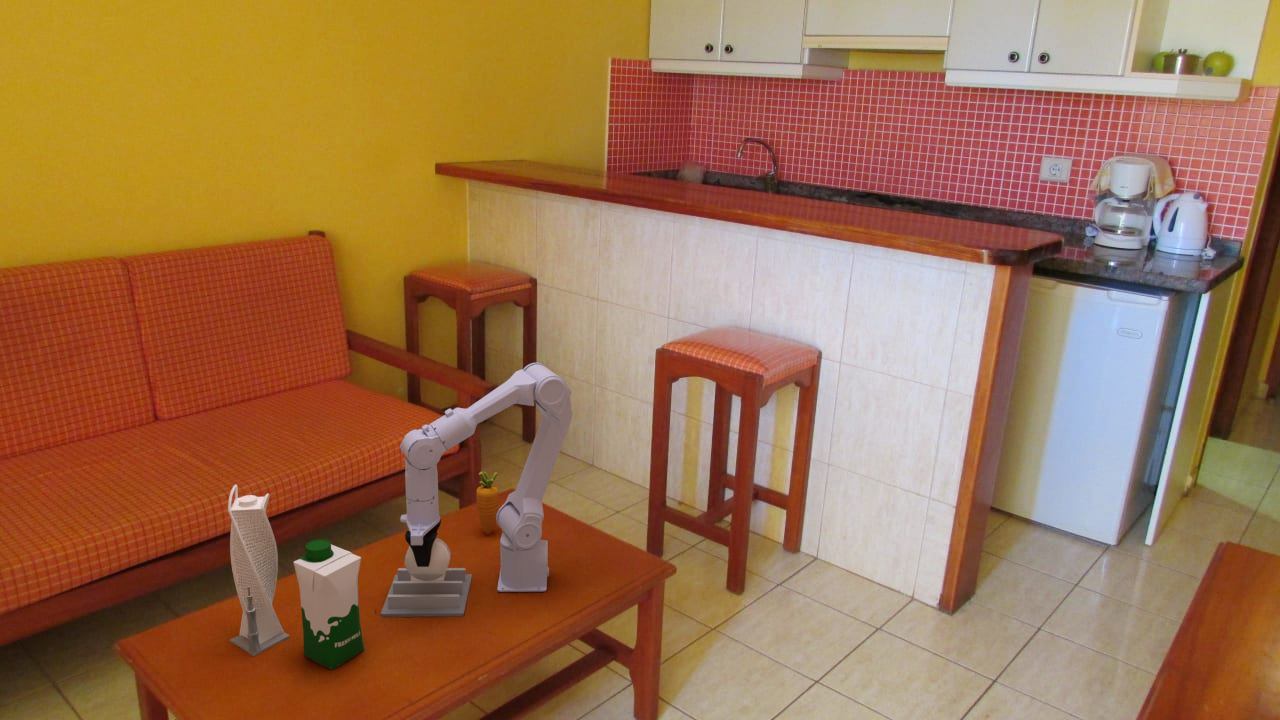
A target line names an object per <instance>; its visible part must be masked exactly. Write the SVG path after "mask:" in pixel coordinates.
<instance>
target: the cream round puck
mask: <svg viewBox="0 0 1280 720" xmlns="http://www.w3.org/2000/svg"><path fill="white" fill-rule="evenodd" d="M404 556H405V557H404V566H405V568H406V569H407V571H408V572H409V573H410V574H411V581H444V578H445V572H446V571H447V568H449V565H450V561H451V551H450V548H449V546H448V545H447V543H446V542H445V541H443V540H442V539H441V538H440V537H438V536H437V537H436V539H435V541H434V543H433V546H432V552H431V559H430V564H429V567H418V566H417V564H416V561H415V558H414V554H413V551H412V549H411V547H410V545H409V546H408V549H407V551H406V554H405V555H404Z"/></svg>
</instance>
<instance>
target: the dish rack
mask: <svg viewBox="0 0 1280 720" xmlns="http://www.w3.org/2000/svg"><path fill="white" fill-rule="evenodd" d="M472 579H473V575H472V573H471V574H470V573H468V574H467V573H466V568H465V567H448V568H447V571H446V572H445V578H444V581H411V574H410V573H409V572H408V571H407V569H406V567H403V568H402V567H401V568H399V567H398V568H397V574H395V575H394V578H393V580H392V583H391V585H390V588H389V591H388V594H387V596H386V598H385V601H384V604H383V606H382V609H381V612H380V617H381V618H386V617H387V618H388V617H389V618H390V617H391V618H392V617H396V618H397V617H398V618H399V617H401V618H402V617H404V618H406V617H409V618H410V617H411V618H412V617H415V618H416V617H464V615H465V610H466V605H467V601H468V596H469V592H470V587H471V585H472V584H471V582H472Z"/></svg>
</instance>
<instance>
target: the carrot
mask: <svg viewBox="0 0 1280 720" xmlns="http://www.w3.org/2000/svg"><path fill="white" fill-rule="evenodd" d="M498 475H499V473H498V472H494V473H493V474H492V477H491V478H490V476H489V474H488V473H487V471H486V472H485V471H480V472H479V473H478V476H479V478H480V481H479V484H480V486H478V487H477V489H476V494H475V495H476V509H477V513H478V518H479V522H480V524H481V527H482V529H483V531H484V533H485V534H486V535H490V534H491V533H492V531H493V529H494V528H495V526H496V524H497V520H496V516H497V512H498V510H499V504H500V503H499V501H500V498H499V497H500V492H499V489H498V487H497V486H496V485H494V482H495V480H496V478H497V477H498Z"/></svg>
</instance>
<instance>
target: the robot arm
mask: <svg viewBox="0 0 1280 720" xmlns="http://www.w3.org/2000/svg"><path fill="white" fill-rule="evenodd" d="M571 394H572V390H571V388H570V386H569V385H568V384H567V382H566V381H565V380H564V378H563V377H561V376H559V375H557V374H556V373H555V372H553V371H552V370H551V369H549V368H548V367H547V366H546V365H545V364H544V363H541V362H532V363H529V364H527V365H526V366H524V368H523V369H522V368H521V369H519V370H517V371H516V370H515V372H514V373H513V374H512V375H511V376H510V377H509V378H508V379H507V380H506V381H504V382H503V383H502V384H500V385H499V386H498V387H496V388H495V389H493V390H491V391H490V392H489V393H487V394H486V395H485V396H483V397H482V398H480V399H479V400H478V401H475V402H474V403H473V404H472V405H471V406H468V407H467V408H461V407H455V408H453V409H452V408H448V409H447V410H445V411H444V415H442V416H440V417H439V418H437V419H436V420H434V421H433V422H430V423H429V424H424V425H422V426H421V429H420V428H418V429H412V430H411V431H409V432H408V433H406V434H405V435H404V437H403V438H402V441H401V444H399V449H400V451H401V453H402V455H404V456H405V457H406V458H404V463H405V466H404V468H405V472H404V479H405V481H404V482H405V484H404V485H405V498H406V500H405V503H406V514H401V515H400V518H399V521H400V522H401V523H402V524H403V523H404V524H406V526H407V528H408V530H406V532H405V535H404V539H405V541H406V543H408V545H409V546H410V547H411V549H412V551H413V554H414V558H415V561H416V564H417V566H418V567H429V564H430V559H431V552H432V546H433V543H434V541H435V539H436V537H437V538H438V531H439V529H440V526H441V524H442V519H441V515H440V513H439V512H440V509H439V507H440V506H439V480H438V479H439V477H438V475H439V474H438V473H439V472H438V467H437V466H438V463H439V462H440V461H441V458H442V456H443V454H445V452H447V451H449V450H451V449H452V448H453V447H456V446H457V445H458V444H460V443H462V442H463V441H465V440H466V439H468V438H469V437H471V436H473V435H474V434H475V431H476V428H477V425H478V424H480V423H483V422H484V421H485V420H488V419H489V418H491V417H493V416H494V415H497V414H498V413H500V412H502V411H504V410H506V409H509V407H511V406H514V405H515V404H516V405H524V406H527V407H528V406H529V407H534V406H535V405H536V406H537V408H538V410H539V411H540V414H541V415H542V416H541V420H540V423H539V426H538V429H537V431H536V433H535V437H534V439H533V442H532V445H531V448H530V450H529V454H528V456H527V459H526V462H525V465H524V467H523V470H522V472H521V475H520V479H519V480H518V484H517V487H516V489H515V490H514V491H513V492H511V493H509V494H508V495H507V498H506V500H505V502H504V503H503V504H502V506H501V507H500V508H498V512H497V516H496V524H497V525H498V527H499V528H500V530H502V531H501V537H500V538H499V540H500V541H499V542H500V545H499V546H500V571H499V576H498V577H499V578H498V581H497V582H498V583H497V588H496V590H497V592H499V593H505V592H506V593H510V592H511V593H514V592H516V593H517V592H518V593H520V592H521V593H523V592H528V593H529V592H531V593H535V592H537V593H539V592H540V593H541V592H543V593H544V592H546V591H547V589H548V587H547V586H548V577H549V576H550V567H549V566H548V565H549V563H548V559H549V558H548V557H549V556H548V555H549V554H548V553H549V552H548V551H549V549H548V546H549V544H548V542H549V541H548V540H545V539H541V538H542V535H543V529H542V528H543V527H542V526H543V525H542V524H543V520H544V517H545V513H544V507H543V499H544V496H545V493H546V490H547V488H548V485H549V482H550V480H551V476H552V474H553V471H554V468H555V466H556V464H557V460H558V457H559V456H560V452H561V449H562V446H563V444H564V441H565V438H566V436H567V433H568V430H569V427H570V425H571V422H572V419H573V410H572V403H571V402H572V401H571Z"/></svg>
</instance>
